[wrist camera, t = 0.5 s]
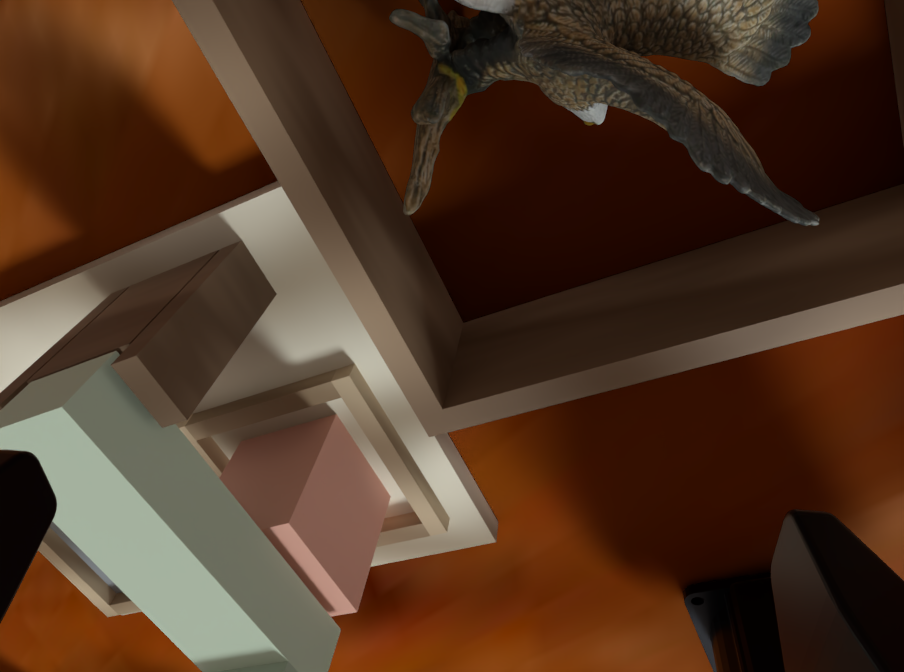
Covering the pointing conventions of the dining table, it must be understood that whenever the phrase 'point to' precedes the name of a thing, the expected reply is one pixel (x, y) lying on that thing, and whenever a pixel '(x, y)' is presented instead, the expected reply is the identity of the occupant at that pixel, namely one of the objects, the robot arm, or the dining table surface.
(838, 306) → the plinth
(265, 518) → the block
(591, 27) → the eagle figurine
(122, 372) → the board
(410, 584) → the dining table surface
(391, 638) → the dining table surface
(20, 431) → the bar
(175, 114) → the dining table surface
